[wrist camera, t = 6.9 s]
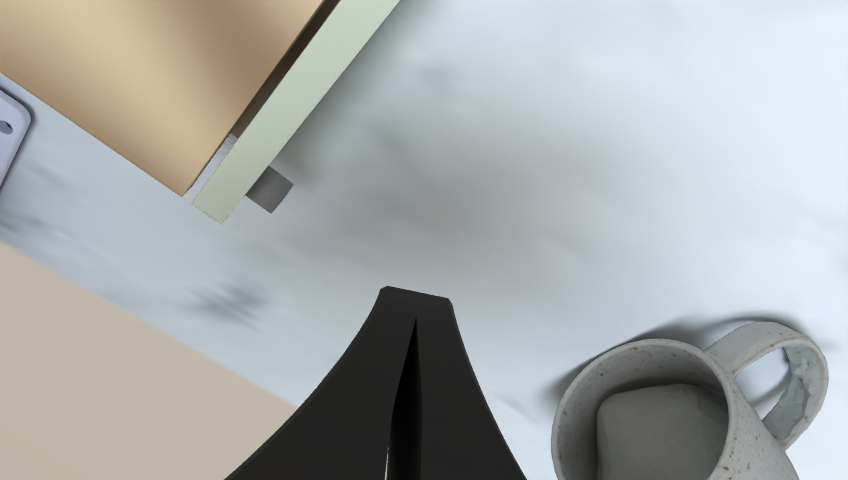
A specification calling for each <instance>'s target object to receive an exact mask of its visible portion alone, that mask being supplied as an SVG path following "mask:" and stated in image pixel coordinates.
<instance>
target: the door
mask: <svg viewBox="0 0 848 480" xmlns="http://www.w3.org/2000/svg"><path fill="white" fill-rule="evenodd" d="M399 1H400V0H340V2H339V3H338V5H337V6H336V7H335V9H334V10H333V11H332V13H331V14H330V15H329V17H328V18H327V20H326V21H325V22H324V24H323V25H322V26H321V28H320V29H319V30H318V32H317V33H316V34H315V36H314V37H313V39H312V40H311V41H310V43H309V44H308V45H307V47H306V48H305V49H304V51H303V52H302V53H301V55H300V56H299V58H298V59H297V60H296V62H295V63H294V64H293V66H292V67H291V68H290V70H289V71H288V72H287V74H286V75H285V77H284V78H283V79H282V81H281V82H280V83H279V85H278V86H277V87H276V89H275V90H274V92H273V93H272V94H271V96H270V97H269V98H268V100H267V101H266V102H265V104H264V105H263V106H262V108H261V109H260V111H259V112H258V113H257V115H256V116H255V117H254V119H253V120H252V121H251V123H250V124H249V125H248V127H247V128H246V130H245V131H244V132H243V134H242V135H241V136H240V138H239V139H238V140H237V142H236V143H235V145H234V146H233V147H232V149H231V150H230V151H229V153H228V154H227V155H226V157H225V158H224V159H223V161H222V162H221V164H220V165H219V166H218V168H217V169H216V170H215V172H214V173H213V174H212V176H211V177H210V178H209V180H208V181H207V183H206V184H205V185H204V187H203V188H202V189H201V191H200V192H199V193H198V195H197V196H196V197H195V199H194V200H193V202H192V203H191V204H192V205H193V206H195V207H196V208H197V209H199V210H200V211H202V212H203V213H205V214H206V215H208V216H209V217H210V218H212V219H213V220H215V221H216V222H218V223H219V224H222V223H223V222H224V220H225V219H226V218H227V217H228V215H229V214H230V213H231V212H232V210H233V209H234V208H235V207H236V205H237V204H238V203H239V202H240V200H241V199H242V198H243V197H244V195H246V196H247V197H248V198H250V199H251V200H253V201H254V202H255V203H257V204H258V205H260V206H261V207H262V208H264V209H265V210H266V211H268V212H269V213H272V212H273V211H274V210H275V209H276V207H277V206H278V205H279V204H280V202H281V201H282V200H283V199H284V197H285V196H286V195H287V193H288V192H289V190H290V189H291V188H292V186H293V184H292V183H291V182H290V181H288V180H287V179H286V178H284V177H283V176H282V175H280V174H279V173H278V172H276V171H275V170H274V169H272V168H271V167H270V166H268V165H269V164H270V163H271V161H272V160H273V159H274V158H275V156H276V155H277V154H278V153H279V151H280V150H281V149H282V148H283V146H284V145H285V144H286V143H287V141H288V140H289V139H290V138H291V136H292V135H293V134H294V133H295V131H296V130H297V129H298V128H299V126H300V125H301V124H302V123H303V121H304V120H305V119H306V118H307V116H308V115H309V114H310V113H311V111H312V110H313V109H314V108H315V106H316V105H317V104H318V102H319V101H320V100H321V99H322V97H323V96H324V95H325V94H326V92H327V91H328V90H329V89H330V87H331V86H332V85H333V84H334V82H335V81H336V80H337V79H338V77H339V76H340V75H341V74H342V72H343V71H344V70H345V69H346V67H347V66H348V65H349V64H350V62H351V61H352V60H353V59H354V57H355V56H356V55H357V54H358V52H359V51H360V50H361V49H362V47H363V46H364V45H365V43H366V42H367V41H368V40H369V38H370V37H371V36H372V35H373V33H374V32H375V31H376V30H377V28H378V27H379V26H380V25H381V23H382V22H383V21H384V20H385V18H386V17H387V16H388V15H389V13H390V12H391V11H392V10H393V8H394V7H395V6H396V5H397V3H398V2H399Z"/></svg>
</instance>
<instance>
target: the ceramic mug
mask: <svg viewBox="0 0 848 480" xmlns="http://www.w3.org/2000/svg"><path fill="white" fill-rule="evenodd" d="M782 347H783V348H784V350H785V352H786V354H787V356H788V359H789V362H790V371H791V372H792V375H791V379H790V381H789V383H788V386H787V388H786V391H785V392H784V393H783V394H782V396H781V398H780V399H779V401H778V402H777V404H776V405H775V406H774V407H773V409H772V410H771V411H770V412H769V413H768V414H767V415H766V416H765V418H764V419H763V420H762V421H761V419H760V418H759V416H758V414H757V413H756V411H755V410H754V409H753V407H752V406H751V405H750V403H749V402H748V401H747V399H746V398H745V396H744V395H743V393H742V392H741V390H740V389H739V387H738V386H737V385H736V383H735V377H736V376H737V375H738V373H739V372H740V371H741V370H742V369H743V368H744V367H746V366H747V365H749V364H750V363H752V362H754V361H756V360H758V359H759V358H761V357H762V356H764V355H765V354H767V353H769V352H771V351H773V350H775V349H778V348H782ZM828 381H829V376H828V368H827V362H826V359H825V357H824V355H823V353H822V351H821V350H820V348H819V347H818V346H817V345H816V344H815V343H814V342H813V341H812V340H811V339H810V338H809V337H807V336H805V335H803V334H801V333H799V332H796V331H794V330H792V329H790V328H788V327H786V326H784V325H781V324H779V323H776V322H755V323H752V324H746V325H743V326H741V327H739V328H737V329H735V330H734V331H732V332H731V333H729V334H727V335H726V336H724V337H723V338H721V339H720V340H718V341H717V342H715V343H714V344H713V345H712V346H710V347H709V348H708V349H707V350H705V351H702V350H701V349H699V348H697V347H695V346H693V345H691V344H687V343H684V342H681V341H677V340H672V339H644V340H639V341H635V342H629V343H627V344H624V345H621V346H619V347H616V348H614V349H611V350H610V351H608V352H606V353H604V354H603V355H601V356H599V357H598V358H596V359H595V360H593V361H592V362H591V363H590V364H588V365H587V366H586V367H585V368H584V369H583V370H582V371H581V372H580V373H579V374H578V375H577V376H576V377H575V379H574V380H573V381H572V383H571V384H570V386H569V387H568V388H567V390H566V391H565V393H564V395H563V397H562V399H561V400H560V403H559V405H558V408H557V411H556V414H555V418H554V422H553V426H552V435H551V453H552V460H553V464H554V470H555V473H556V476H557V478H558V480H799V477H798V475H797V473H796V471H795V469H794V467H793V465H792V463H791V461H790V460H789V458H788V456H787V455H786V453H785V451H786V450H787V449H788V448H789V447H790V446H791V445H792V444H793V443H794V442H795V441H796V440H797V439H798V438H799V436H800V435H801V434H802V433H803V432H804V431H805V430H806V429H807V428H808V427H809V425H810V424H811V423H812V421H813V420H814V418H815V417H816V415H817V414H818V412H819V411H820V410H821V407H822V405H823V402H824V399H825V396H826V393H827V387H828Z"/></svg>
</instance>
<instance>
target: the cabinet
mask: <svg viewBox="0 0 848 480" xmlns="http://www.w3.org/2000/svg"><path fill="white" fill-rule="evenodd" d="M339 2H340V0H0V72H1V73H2V74H4V75H5V76H6V77H8V78H9V79H11V80H12V81H14V82H15V83H17V84H18V85H20V86H21V87H22V88H24V89H25V90H27V91H28V92H30V93H31V94H33V95H34V96H36V97H37V98H38V99H40V100H41V101H43V102H44V103H46V104H47V105H49V106H50V107H52V108H53V109H54V110H56V111H57V112H59V113H60V114H62V115H63V116H65V117H66V118H68V119H69V120H70V121H72V122H73V123H75V124H76V125H78V126H79V127H81V128H82V129H83V130H85V131H86V132H88V133H89V134H91V135H92V136H94V137H95V138H97V139H98V140H99V141H101V142H102V143H104V144H105V145H107V146H108V147H110V148H111V149H113V150H114V151H115V152H117V153H118V154H120V155H121V156H123V157H124V158H126V159H127V160H129V161H130V162H131V163H133V164H134V165H136V166H137V167H139V168H140V169H142V170H143V171H145V172H146V173H147V174H149V175H150V176H152V177H153V178H155V179H156V180H158V181H159V182H161V183H162V184H163V185H165V186H166V187H168V188H169V189H171V190H172V191H174V192H175V193H177V194H178V195H179V196H181V197H182V196H183V195H184V194H185V193H186V192H187V191H188V190H189V189H190V188H191V187H192V185H193V184H194V183H195V181H196V180H197V179H198V177H199V176H200V174H201V173H202V172H203V170H204V169H205V167H206V166H207V165H208V163H209V162H210V160H211V159H212V158H213V156H214V155H215V153H216V152H217V151H218V149H219V148H220V147H221V145H222V144H223V142H224V141H225V140H226V138H227V137H228V135H229V134H230V133H232V134H233V135H234V136H236V137H237V138H239V137H240V136H241V135H242V134H243V132H244V131H245V130H246V128H247V127H248V125H249V124H250V123H251V121H252V120H253V119H254V117H255V116H256V115H257V113H258V112H259V111H260V109H261V108H262V106H263V105H264V104H265V102H266V101H267V100H268V98H269V97H270V96H271V94H272V93H273V92H274V90H275V89H276V87H277V86H278V85H279V83H280V82H281V81H282V79H283V78H284V77H285V75H286V74H287V72H288V71H289V70H290V68H291V67H292V66H293V64H294V63H295V62H296V60H297V59H298V58H299V56H300V55H301V53H302V52H303V51H304V49H305V48H306V47H307V45H308V44H309V43H310V41H311V40H312V39H313V37H314V36H315V34H316V33H317V32H318V30H319V29H320V28H321V26H322V25H323V24H324V22H325V21H326V20H327V18H328V17H329V15H330V14H331V13H332V11H333V10H334V9H335V7H336V6H337V5H338V3H339Z"/></svg>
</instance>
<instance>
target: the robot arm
mask: <svg viewBox="0 0 848 480" xmlns="http://www.w3.org/2000/svg"><path fill="white" fill-rule="evenodd" d="M5 121H6V122H8V123H9V124H10V125H11V127H12V129H13V130H12V129H10V128H9V127H8V126H7V124H6V122H5ZM30 121H31V118H30V114H29V112H28V111H27V109H26V108H25V107H24V106H22V105H21V104H20V103H18V102H17V101H15V100H14V99H12V98H11V97H9V96H8V95H7V94H5V93H4V92H2V91H1V90H0V185H1V183H2V181H3V179H4V177H5V175H6V173H7V171H8V169H9V166H10V164H11V162H12V160H13V158H14V156H15V154H16V152H17V150H18V148H19V146H20V143H21V141H22V139H23V137H24V135H25V133H26V131H27V129H28V127H29V125H30ZM388 445H389V447H388ZM387 454H388V463H387V479H386V480H527V479H526V477H525V476H524V474H523V472H522V470H521V469H520V467H519V465H518V463H517V462H516V460H515V458H514V456H513V454H512V453H511V451H510V449H509V447H508V445H507V443H506V441H505V439H504V437H503V435H502V433H501V432H500V430H499V427H498V425H497V423H496V421H495V419H494V417H493V415H492V413H491V411H490V409H489V407H488V404H487V402H486V400H485V397H484V395H483V393H482V391H481V388H480V386H479V383H478V381H477V378H476V376H475V373H474V371H473V368H472V366H471V363H470V361H469V358H468V355H467V353H466V350H465V347H464V344H463V341H462V338H461V335H460V332H459V328H458V325H457V322H456V318H455V314H454V310H453V305H452V303H451V302H450V300H449V299H448V298H444V297H439V296H434V295H429V294H424V293H420V292H415V291H410V290H405V289H400V288H396V287H391V286H386V287H384V288H382V289H380V292H379V295H378V298H377V300H376V302H375V305H374V307H373V309H372V310H371V312H370V314H369V316H368V318H367V319H366V321H365V323H364V324H363V326H362V328H361V329H360V331H359V332H358V334H357V335H356V337H355V338H354V339H353V341H352V342H351V344H350V345H349V347H348V348H347V350H346V351H345V352H344V354H343V355H342V357H341V358H340V359H339V361H338V362H337V363H336V364H335V366H334V367H333V368H332V369H331V371H330V372H329V373H328V374H327V375H326V377H325V378H324V379H323V380H322V382H321V383H320V384H319V385H318V387H317V388H316V389H315V390H314V391H313V393H312V394H311V395H310V396H309V397H308V398H307V399H306V400H305V402H304V403H303V404H302V405H301V406H300V407H299V408H298V409H297V410H296V411H295V413H294V414H293V415H292V416H291V417H290V418H289V419H288V420H287V421H286V422H285V423H284V424H283V425H282V426H281V427H280V428H279V429H278V430H277V431H276V432H275V433H274V434H273V435H272V436H271V437H270V438H269V439H268V440H267V441H266V442H265V443H264V444H263V445H262V446H261V447H260V448H258V449H257V450H256V451H255V452H254V453H253V454H252V455H251V456H250V457H249V458H248V459H247V460H246V461H245V462H243V463H242V465H240V466H239V467H238V468H237V469H236V470H235V471H233V472H232V473H231V474H230V475H229V476H228V477H227V478H225V479H224V480H385V471H386V462H387Z"/></svg>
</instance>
